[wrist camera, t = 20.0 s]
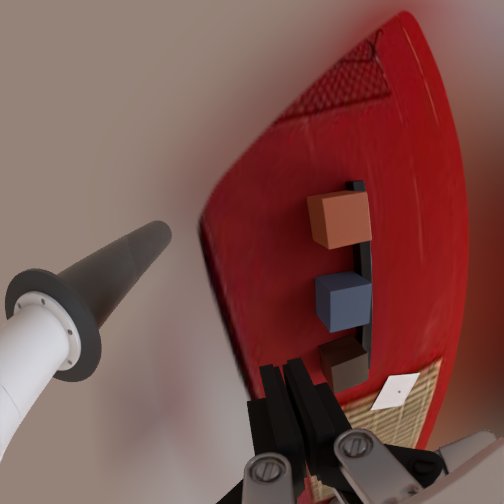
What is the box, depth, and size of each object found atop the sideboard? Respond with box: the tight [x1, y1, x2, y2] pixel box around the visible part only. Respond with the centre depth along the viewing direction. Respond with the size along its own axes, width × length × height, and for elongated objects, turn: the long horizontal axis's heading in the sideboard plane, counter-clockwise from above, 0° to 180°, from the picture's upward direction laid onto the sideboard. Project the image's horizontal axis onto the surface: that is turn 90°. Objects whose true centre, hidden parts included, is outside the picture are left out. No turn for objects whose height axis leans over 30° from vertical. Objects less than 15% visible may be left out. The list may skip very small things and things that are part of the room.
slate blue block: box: [315, 271, 371, 333], centre depth 30 cm, size 5×5×5 cm
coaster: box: [371, 373, 420, 410], centre depth 39 cm, size 8×8×1 cm
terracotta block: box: [306, 191, 372, 249], centre depth 28 cm, size 5×5×5 cm
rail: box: [346, 180, 372, 369], centre depth 32 cm, size 2×26×2 cm, turn 10°
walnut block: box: [318, 334, 368, 394], centre depth 33 cm, size 5×5×5 cm
